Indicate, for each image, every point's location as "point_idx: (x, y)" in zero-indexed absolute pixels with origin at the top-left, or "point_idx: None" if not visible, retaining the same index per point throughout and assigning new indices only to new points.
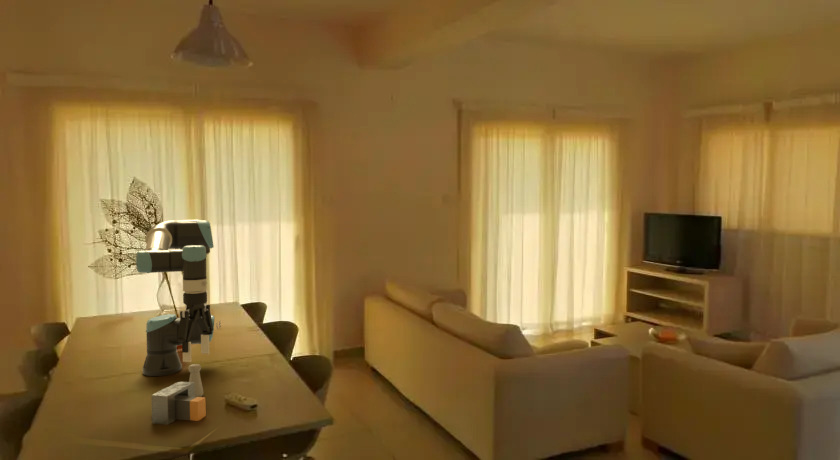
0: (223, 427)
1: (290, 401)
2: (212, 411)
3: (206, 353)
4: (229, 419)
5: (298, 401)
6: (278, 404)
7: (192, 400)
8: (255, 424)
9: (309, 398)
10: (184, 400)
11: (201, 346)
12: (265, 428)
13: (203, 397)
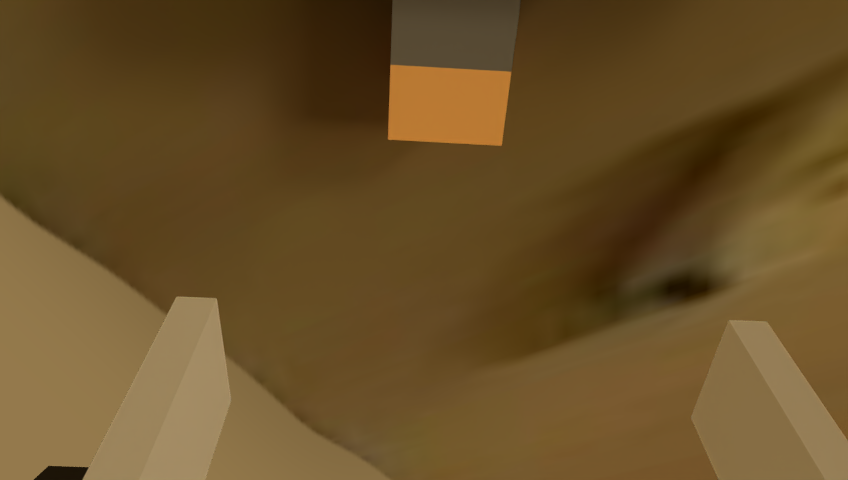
0: (327, 274)
1: None
2: (584, 87)
3: (703, 401)
4: (450, 253)
5: None
6: None
7: (409, 80)
8: (402, 390)
9: None
10: (395, 7)
11: (787, 426)
12: (363, 440)
13: (496, 131)
